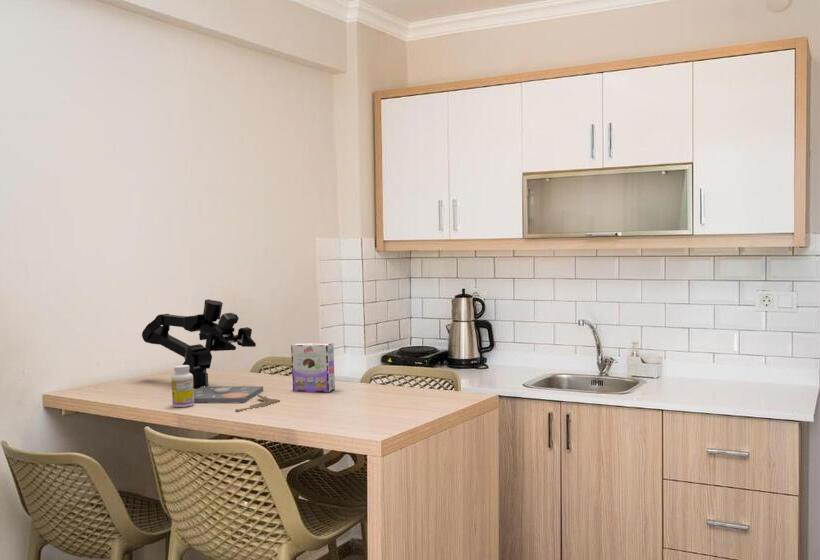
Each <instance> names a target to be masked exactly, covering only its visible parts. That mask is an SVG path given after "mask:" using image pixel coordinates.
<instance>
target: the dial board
mask: <svg viewBox="0 0 820 560" xmlns="http://www.w3.org/2000/svg"><path fill="white" fill-rule="evenodd" d="M260 392H261V393H262V392H264V386H205V387H200V388H195V390H194V402H242V403H241V404H245V403H246V402H248V401H250V400H251V399H253V398H254V397H256V396H257V395H260V394H261V393H260ZM255 395H256V396H255ZM252 397H253V398H252ZM250 398H251V399H250ZM249 399H250V400H249ZM247 400H248V401H247ZM244 402H245V403H244Z"/></svg>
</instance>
